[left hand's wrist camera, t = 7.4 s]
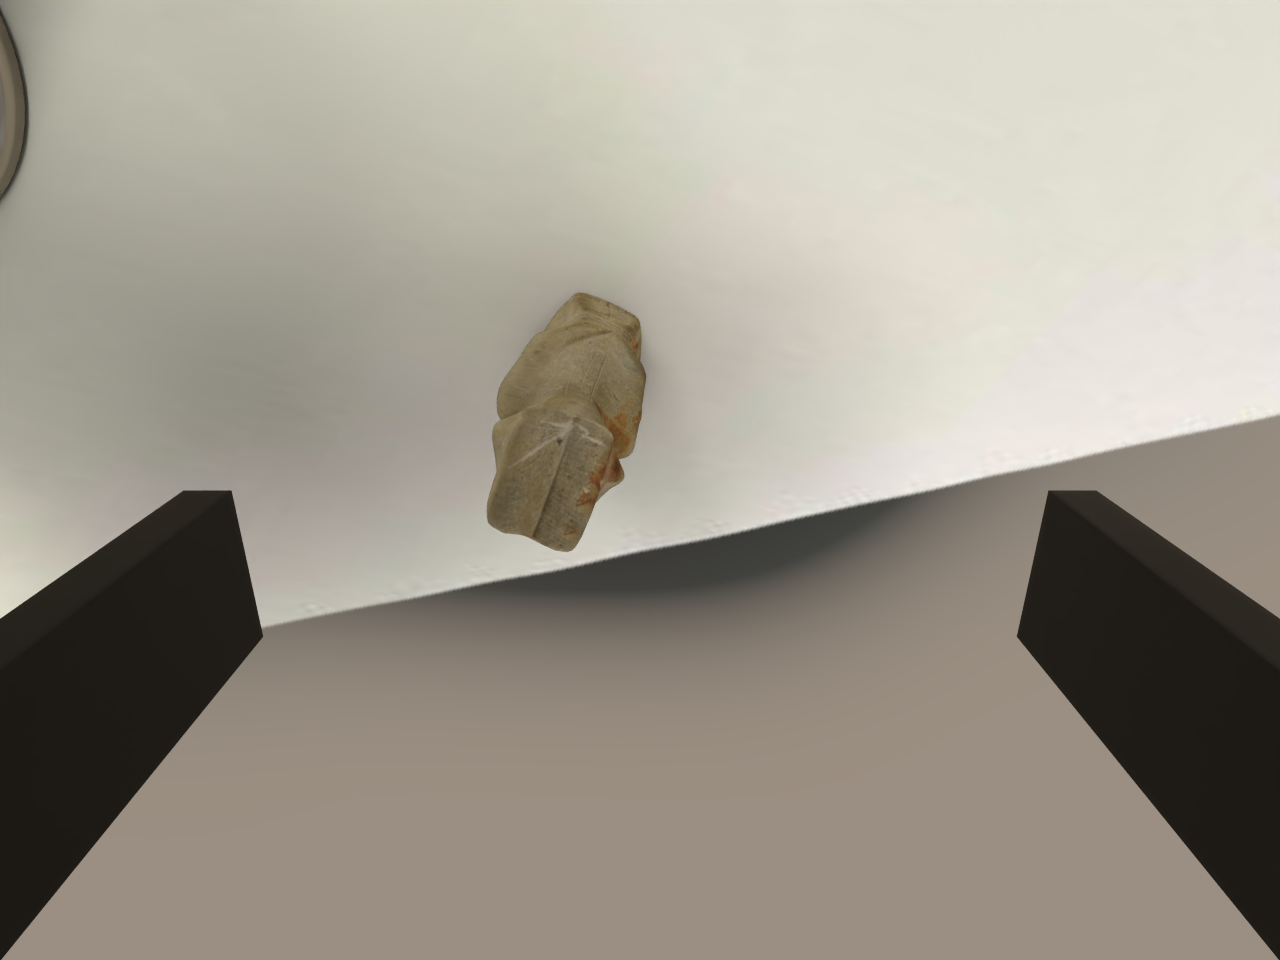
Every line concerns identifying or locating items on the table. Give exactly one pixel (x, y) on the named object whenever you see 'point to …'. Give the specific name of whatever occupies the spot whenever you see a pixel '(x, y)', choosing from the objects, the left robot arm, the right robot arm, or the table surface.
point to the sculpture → (566, 422)
